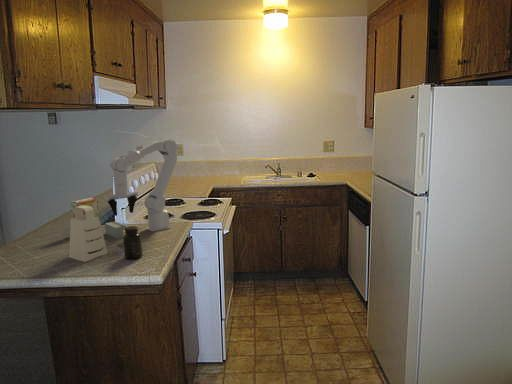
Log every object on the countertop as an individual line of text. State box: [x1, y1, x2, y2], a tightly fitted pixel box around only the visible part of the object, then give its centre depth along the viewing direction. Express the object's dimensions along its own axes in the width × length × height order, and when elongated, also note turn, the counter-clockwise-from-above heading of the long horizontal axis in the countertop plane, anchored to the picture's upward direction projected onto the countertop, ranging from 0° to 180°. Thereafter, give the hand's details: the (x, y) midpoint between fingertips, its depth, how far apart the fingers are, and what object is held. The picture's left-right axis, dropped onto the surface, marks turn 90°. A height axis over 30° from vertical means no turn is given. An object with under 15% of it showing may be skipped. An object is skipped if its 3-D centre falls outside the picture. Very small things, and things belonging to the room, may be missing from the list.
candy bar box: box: [70, 197, 100, 230], centre depth 203 cm, size 11×5×16 cm, turn 149°
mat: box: [103, 233, 151, 248], centre depth 195 cm, size 13×26×1 cm, turn 42°
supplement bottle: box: [123, 225, 143, 261], centre depth 168 cm, size 7×7×12 cm
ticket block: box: [104, 221, 127, 239], centre depth 199 cm, size 5×12×5 cm, turn 41°
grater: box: [68, 205, 108, 263], centre depth 171 cm, size 10×10×20 cm
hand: (123, 213), depth 197 cm, fingers open, 7 cm apart
